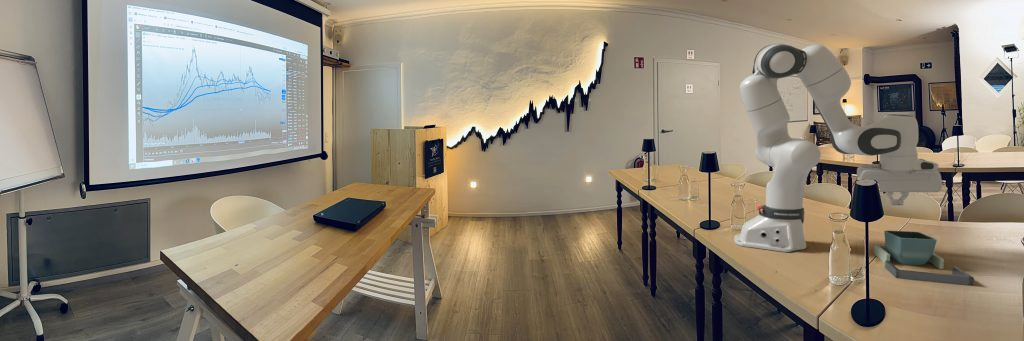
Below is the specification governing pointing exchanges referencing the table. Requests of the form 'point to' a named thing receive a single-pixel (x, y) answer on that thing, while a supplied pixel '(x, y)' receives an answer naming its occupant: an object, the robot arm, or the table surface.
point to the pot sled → (885, 256)
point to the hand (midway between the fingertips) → (896, 205)
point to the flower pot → (909, 247)
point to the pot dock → (932, 275)
